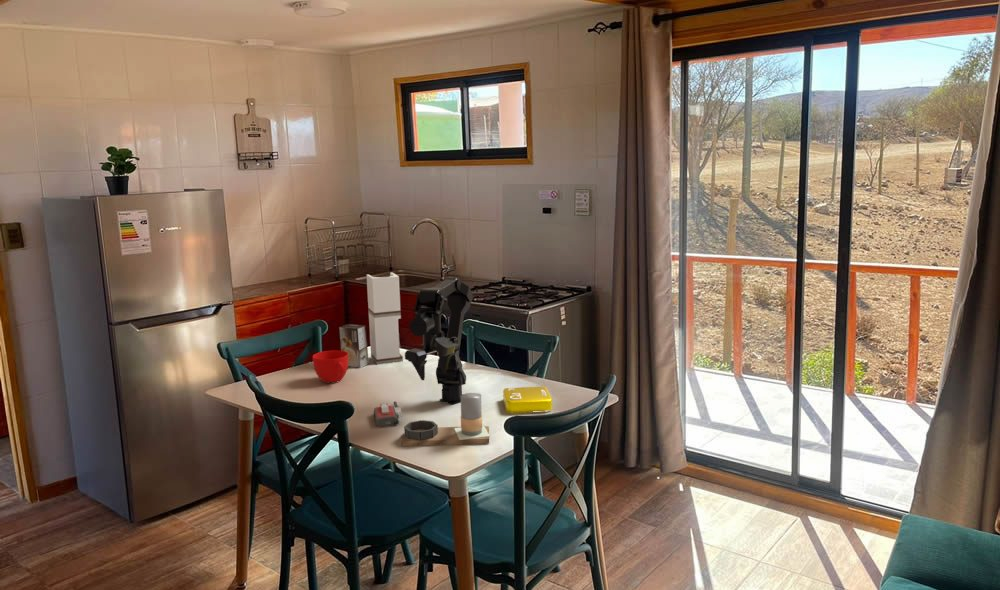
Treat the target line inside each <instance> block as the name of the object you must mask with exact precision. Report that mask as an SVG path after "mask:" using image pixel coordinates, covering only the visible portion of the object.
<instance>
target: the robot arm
mask: <svg viewBox="0 0 1000 590" xmlns="http://www.w3.org/2000/svg"><path fill="white" fill-rule="evenodd" d="M416 296H417V297H416V300H415V305H414V307H413V308H414V309H413V313H415V314H414V316H415V317H414V318H412V319H411V321H410V322H409V327H408V328H409V330H410V332H411V334H412V335H414V336H416V337H422V344H420V349H419V348H411V349H407V350H406V351H405V352H404V360H406V361H408V362H410V363H411V364H412V366H413V368H415V371H416V373H417V374H418V376H419V378H420V380H421V381H425V377H426V373H425V372H426V369H425V368H426V367H425V365H426V364H427V362H428V360H427V357H428V356H429V355H432V354H435V353H438V359H437V366H436V369H435V376H436V381H437V384H438V385H441V388H442V389H441V398H439V401H440V402H443V403H445V404H450V405H455V404H458V403H461V395H462V394H463V386H464V385H466V384H467V375H466V372H465V371H464V369H463V363H462V361H461V358H460V348H461V340H462V333H463V327H464V317H465V315H466V313H467V312H468V310H469V309H471V308H470V307H471V303H472V301H473V299H474V298H473V297H474V294H473V292H472V290H471V288H470V287H469V285H467V284H465V283H463V282H462V280H461V279H460V278H459V277H446V278H444V280H442V281H441V282H439V283H438V284H436V285H435V286H433V287H427V288H422V289H420V290H419V292H418V293H417V295H416ZM445 299H446V305H447V307H448V309H449V311H450V314H449V319H448V320H449V321H448V329H447V334H446V336H445V332H444V331H442V322H441V321H442V320H441V316H442V315H441V313H442V311H443V310H442V309H443V306H444V303H445Z"/></svg>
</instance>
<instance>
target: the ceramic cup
mask: <svg viewBox="0 0 1000 590" xmlns="http://www.w3.org/2000/svg"><path fill="white" fill-rule="evenodd" d="M312 364H313V369H314V371H315V373H316V376H318V378H319V379H320V380H321V381H322V382H323V381H324V382H336V383H338V382H337V381H339V382H341V381H342V379H343V378H344V376H345V375H346V373H347V371H348V367H349V366H348V353H347V352H345V351H341V350H337V349H336V350H334V349H333V350H323V351H319V352H317V353H314V354H313V355H312ZM340 380H341V381H340ZM324 382H323V383H324Z"/></svg>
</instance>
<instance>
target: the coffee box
mask: <svg viewBox="0 0 1000 590" xmlns="http://www.w3.org/2000/svg"><path fill="white" fill-rule="evenodd" d="M338 329H339V339H340V340H339V341H340V351H345V352H347V353H348V367H349V366H350V367H352V368H363V367H366V366H368V365H369V364H370V363H369V352H368V351H369V350H368V335H367V325H365V324H364V325H363V324H354V323H346V324H343V325H342V326H339V327H338Z"/></svg>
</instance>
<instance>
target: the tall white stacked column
mask: <svg viewBox="0 0 1000 590" xmlns="http://www.w3.org/2000/svg"><path fill="white" fill-rule="evenodd" d="M366 287H367V288H366V289H367V290H366V291H367V292H366V293H367V303H368V304H367V305H368V306H367V307H368V323H369V326H368V327H369V344H370V345H369V346H370V358H371V359H372V360H373V361H375V362H374V363H375V364H376V365H383V363H386V364H393V362H394V363H399V362H401V361H402V362H403V360H404V357H403V355H402V354H401V353H400V352H401V350H400V349H401V348H400V333H399V319H402V315H401V314H402V313H401V310H402V309H401V294H400V292H401V290H400V276H399V275H397V274H396V273H394V272H390V273H389V276H382V277H381V276H380V277H379V276H378V277H376V276H372V275H370V274H366Z"/></svg>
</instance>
